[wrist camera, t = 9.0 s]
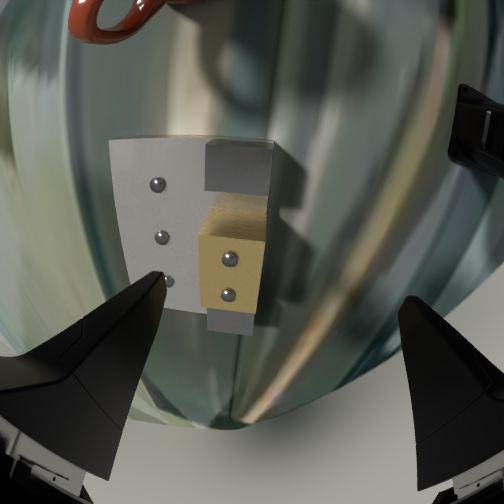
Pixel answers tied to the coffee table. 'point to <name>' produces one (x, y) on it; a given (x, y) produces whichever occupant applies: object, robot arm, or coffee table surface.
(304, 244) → the coffee table surface
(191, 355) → the coffee table surface
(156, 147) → the steel hinge plate
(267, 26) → the coffee table surface
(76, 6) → the mug
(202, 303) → the block
